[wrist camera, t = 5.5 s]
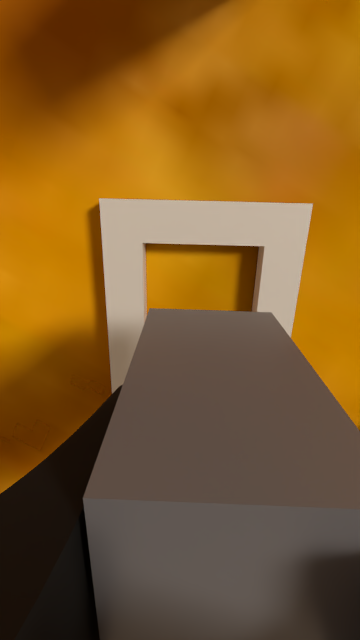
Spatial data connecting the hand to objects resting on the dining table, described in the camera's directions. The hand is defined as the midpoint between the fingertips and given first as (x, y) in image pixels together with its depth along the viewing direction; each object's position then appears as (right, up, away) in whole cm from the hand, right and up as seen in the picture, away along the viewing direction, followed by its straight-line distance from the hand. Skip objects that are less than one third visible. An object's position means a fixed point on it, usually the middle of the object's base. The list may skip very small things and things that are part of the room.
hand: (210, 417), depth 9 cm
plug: (0, +1, +2) cm, 2 cm away
